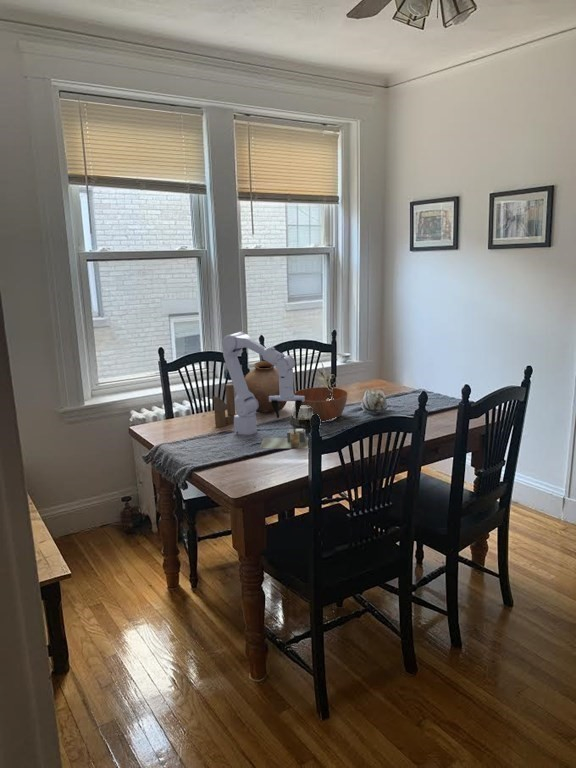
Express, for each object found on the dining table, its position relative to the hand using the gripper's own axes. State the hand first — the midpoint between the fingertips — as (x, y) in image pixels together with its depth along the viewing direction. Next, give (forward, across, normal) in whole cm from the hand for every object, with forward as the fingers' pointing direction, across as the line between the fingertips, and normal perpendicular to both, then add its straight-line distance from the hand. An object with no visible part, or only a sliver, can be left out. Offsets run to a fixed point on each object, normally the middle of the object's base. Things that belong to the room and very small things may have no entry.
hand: (287, 418), depth 233 cm
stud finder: (+8, +4, -3) cm, 10 cm away
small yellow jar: (+8, +4, -9) cm, 13 cm away
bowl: (+10, +12, +32) cm, 35 cm away
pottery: (+10, -16, +40) cm, 44 cm away
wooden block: (+10, -31, +22) cm, 40 cm away
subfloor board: (+10, 0, -6) cm, 12 cm away
